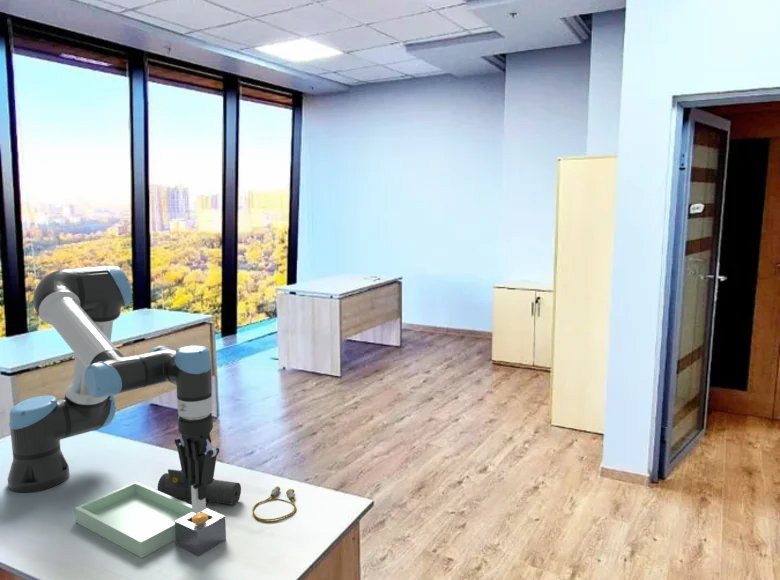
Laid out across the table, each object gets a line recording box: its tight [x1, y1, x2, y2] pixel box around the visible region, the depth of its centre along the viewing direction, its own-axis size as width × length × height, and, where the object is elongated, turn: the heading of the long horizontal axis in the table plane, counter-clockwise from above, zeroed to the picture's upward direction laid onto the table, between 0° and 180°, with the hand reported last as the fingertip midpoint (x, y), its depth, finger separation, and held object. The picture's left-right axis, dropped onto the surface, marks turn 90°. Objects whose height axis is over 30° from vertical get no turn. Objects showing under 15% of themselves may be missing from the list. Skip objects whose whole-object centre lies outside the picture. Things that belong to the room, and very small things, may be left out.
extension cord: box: [252, 485, 297, 523], centre depth 156 cm, size 12×16×2 cm
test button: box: [192, 513, 208, 526], centre depth 139 cm, size 4×4×5 cm
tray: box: [74, 481, 192, 559], centre depth 147 cm, size 27×17×4 cm, turn 57°
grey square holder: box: [175, 507, 227, 557], centre depth 139 cm, size 8×8×6 cm
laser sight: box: [157, 468, 242, 506], centre depth 159 cm, size 10×22×10 cm, turn 77°
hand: (199, 510), depth 138 cm, fingers closed
